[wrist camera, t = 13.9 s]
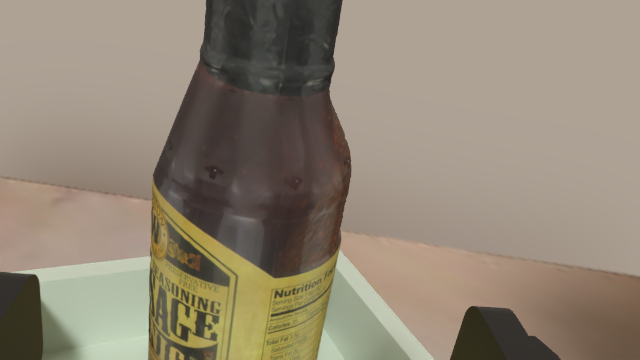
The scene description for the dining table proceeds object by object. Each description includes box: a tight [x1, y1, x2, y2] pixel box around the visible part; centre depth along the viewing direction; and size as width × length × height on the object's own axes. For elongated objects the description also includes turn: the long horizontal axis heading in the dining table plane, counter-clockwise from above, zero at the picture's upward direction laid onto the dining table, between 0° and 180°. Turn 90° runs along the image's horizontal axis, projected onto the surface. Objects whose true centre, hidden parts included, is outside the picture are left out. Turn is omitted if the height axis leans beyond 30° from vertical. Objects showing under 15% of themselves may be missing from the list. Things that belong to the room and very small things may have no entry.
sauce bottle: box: [148, 0, 351, 360], centre depth 19 cm, size 7×6×20 cm
